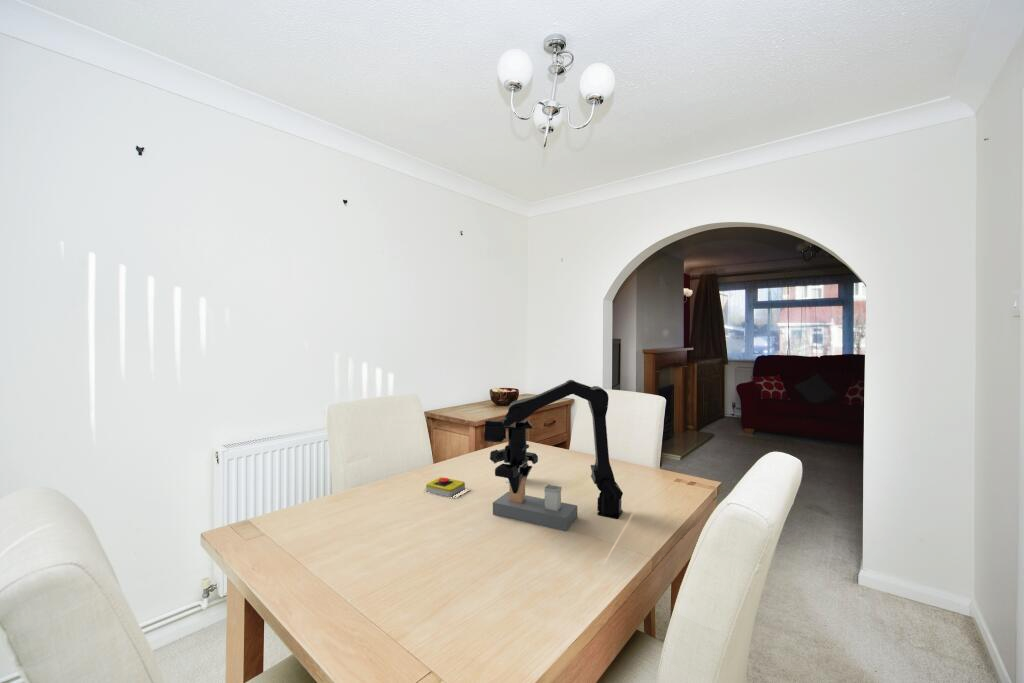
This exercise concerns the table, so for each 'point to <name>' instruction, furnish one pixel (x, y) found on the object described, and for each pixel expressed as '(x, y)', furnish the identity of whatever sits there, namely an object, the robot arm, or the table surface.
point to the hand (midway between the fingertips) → (517, 491)
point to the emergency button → (445, 487)
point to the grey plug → (553, 497)
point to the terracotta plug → (518, 492)
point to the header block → (536, 512)
